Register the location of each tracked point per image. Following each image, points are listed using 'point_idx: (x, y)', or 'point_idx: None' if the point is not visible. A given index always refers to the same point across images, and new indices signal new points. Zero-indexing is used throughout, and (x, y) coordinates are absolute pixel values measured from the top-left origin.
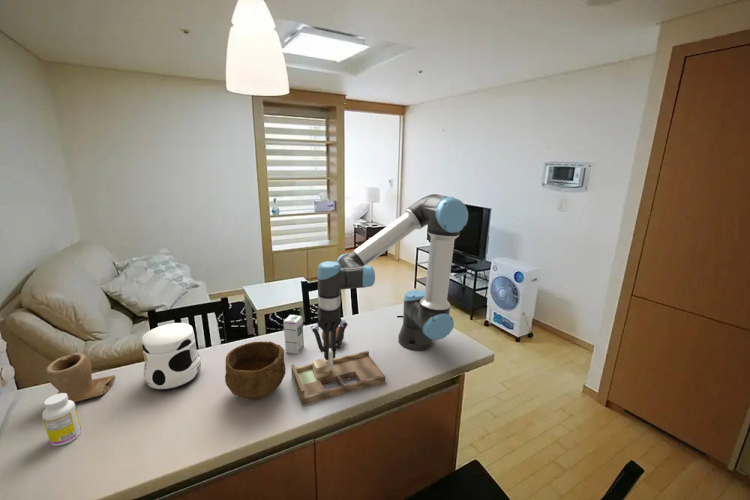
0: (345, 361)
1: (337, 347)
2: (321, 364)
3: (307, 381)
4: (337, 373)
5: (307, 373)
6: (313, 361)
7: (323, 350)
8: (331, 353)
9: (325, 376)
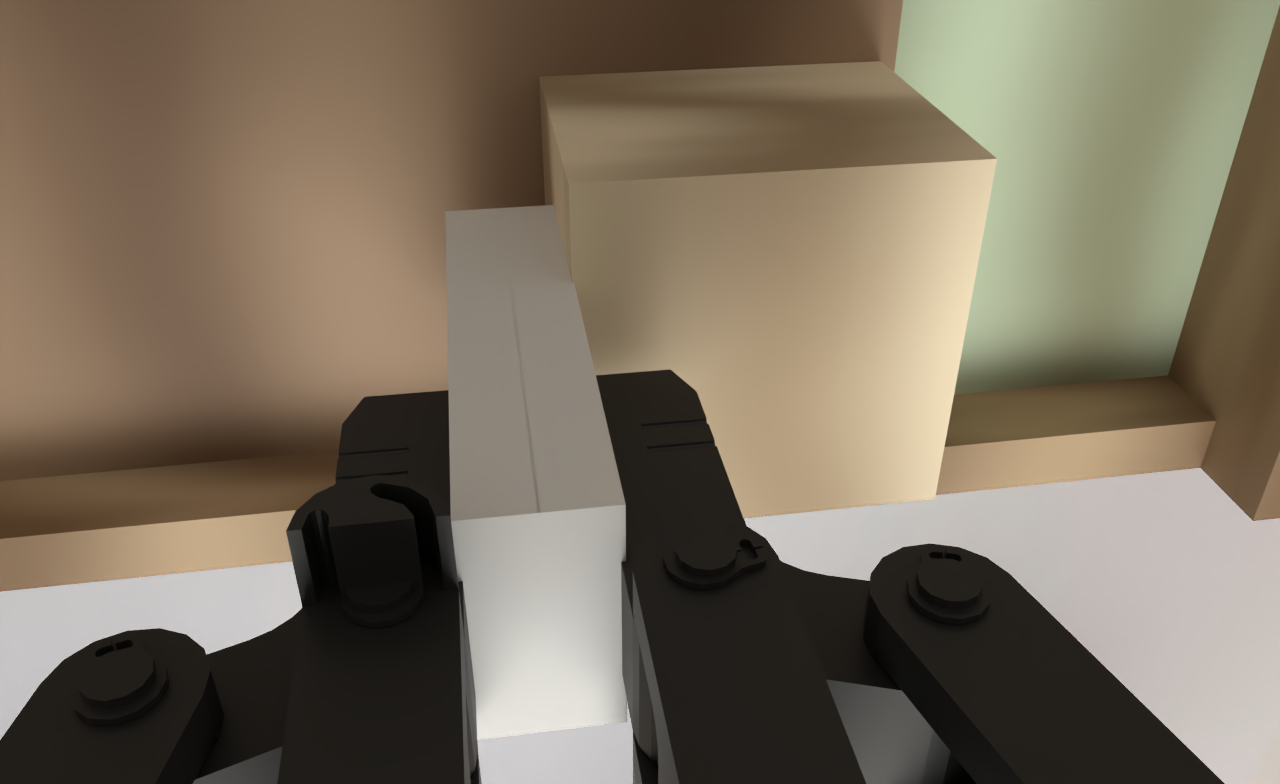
0: (61, 456)
1: (207, 673)
2: (796, 289)
3: (1099, 22)
4: (346, 68)
5: (976, 296)
6: (926, 467)
7: (892, 596)
8: (511, 478)
9: (667, 57)
